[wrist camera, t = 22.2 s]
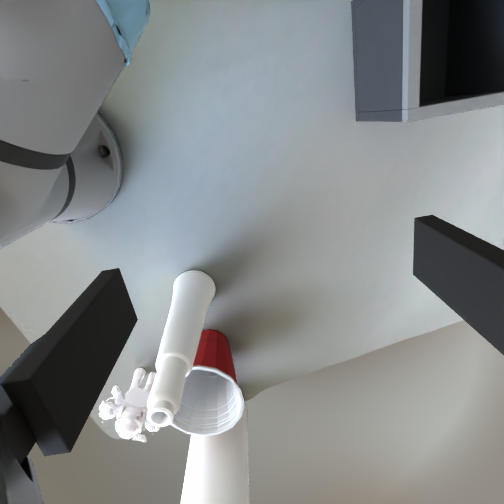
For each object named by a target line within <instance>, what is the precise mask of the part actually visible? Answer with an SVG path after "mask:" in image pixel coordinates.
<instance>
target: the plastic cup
mask: <svg viewBox="0 0 504 504" xmlns="http://www.w3.org/2000/svg"><path fill="white" fill-rule="evenodd" d="M244 405H245V404H244V400H243V396H242V392H241V388H240V387H239V386H238V384H237V380H236V375H235V370H234V365H233V359H232V355H231V352H230V347H229V343H228V340H227V338H226V337H225V336H224V335H223V333H221V332H219V331H217V330H211V329H208V330H203V331H202V333H201V337H200V341H199V344H198V348H197V352H196V356H195V359H194V363H193V366H192V370H191V372H190V374H189V375H188V376H187V377H186V378H185V383H184V388H183V392H182V397H181V402H180V406H179V409H178V411H177V413H176V414H175V415H174V419H173V421H172V423H171V425H172V426H173V427H175V428H177V429H179V430H181V431H183V432H184V433H186V434H192V435H197V436H210V435H218V434H220V433H223V432H225V431H227V430H229V429H231V428H232V427H233V426H234V425H235V424H236V423H237V422H238V420H239V419H240V418H241V417H242V413H243V409H244Z"/></svg>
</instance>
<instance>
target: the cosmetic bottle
mask: <svg viewBox="0 0 504 504" xmlns="http://www.w3.org/2000/svg"><path fill="white" fill-rule="evenodd" d="M215 290H216V289H215V284H214V282H213V280H212V279H211V278H210V277H209V276H208V275H207V274H205V273H203V272H201V271H196V270H191V271H186V272H184V273H182V274H181V275H179V276H178V277H177V279H176V280H175V282H174V286H173V299H172V304H171V308H170V312H169V316H168V320H167V323H166V327H165V330H164V334H163V337H162V341H161V344H160V348H159V352H158V356H157V360H156V370H157V374H156V377H155V380H154V383H153V386H152V389H151V392H150V395H149V398H148V401H147V409H148V412H147V415H146V417H147V420H148V422H149V423H150V424H152V425H154V426H157V427H164V426H167V425H169V424H171V423H172V421H173V419H174V415H175V414H176V413H177V411H178V409H179V406H180V402H181V397H182V392H183V388H184V383H185V378H186V377H187V376H188V375H189V374H190V372H191V370H192V366H193V363H194V359H195V356H196V352H197V348H198V344H199V341H200V337H201V333H202V329H203V325H204V321H205V318H206V314H207V311H208V308H209V306H210V304H211V301H212V299H213V298H214V295H215Z"/></svg>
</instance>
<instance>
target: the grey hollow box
mask: <svg viewBox="0 0 504 504" xmlns="http://www.w3.org/2000/svg"><path fill="white" fill-rule="evenodd" d="M351 5H352V30H353V56H354V81H355V107H356V121H382V122H410V121H416V120H421V119H427V118H433V117H438V116H444V115H450V114H455V113H461V112H466V111H472V110H478V109H483V108H489V107H495V106H500V105H504V0H353V1H352V2H351Z"/></svg>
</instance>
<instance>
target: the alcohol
mask: <svg viewBox="0 0 504 504" xmlns="http://www.w3.org/2000/svg"><path fill="white" fill-rule="evenodd" d="M244 404H245V402H244ZM247 423H248V422H247V406H246V404H245V405H244V409H243V413H242V417H241V418H240V419H239V420H238V422H237V423H236V424H235V425H234V426H233V427H232V428H231V429H229V430H227V431H225V432H223V433H220V434H218V435H210V436H197V435H192V434H191V441H190V447H189V453H188V460H187V466H186V473H185V479H184V486H183V492H182V498H181V504H249V468H248V467H249V464H248V425H247Z"/></svg>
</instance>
